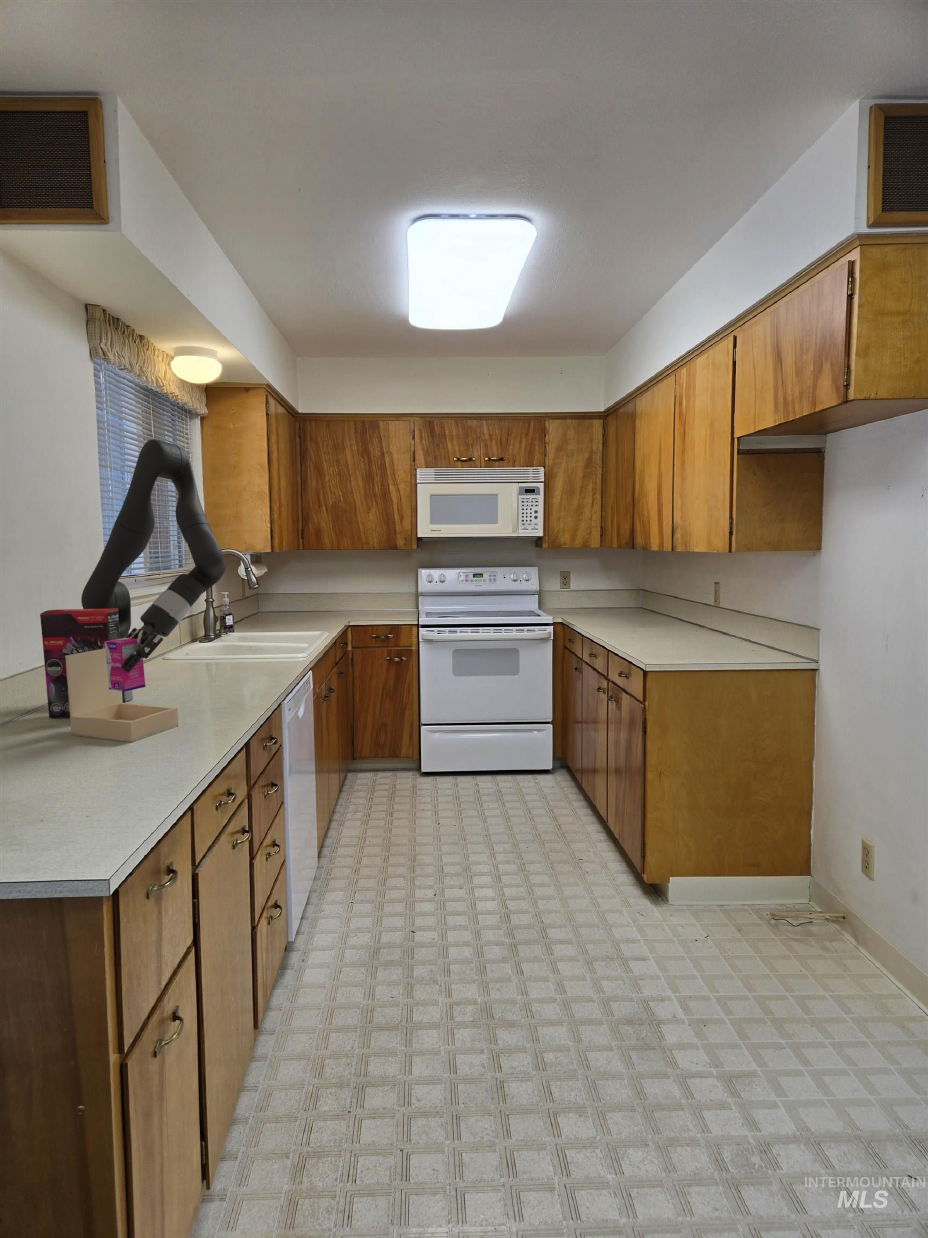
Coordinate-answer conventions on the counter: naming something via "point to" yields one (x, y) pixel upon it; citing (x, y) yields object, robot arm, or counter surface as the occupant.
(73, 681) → the mailer box
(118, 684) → the supplement box
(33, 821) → the counter surface
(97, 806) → the counter surface
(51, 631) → the graphics card box
